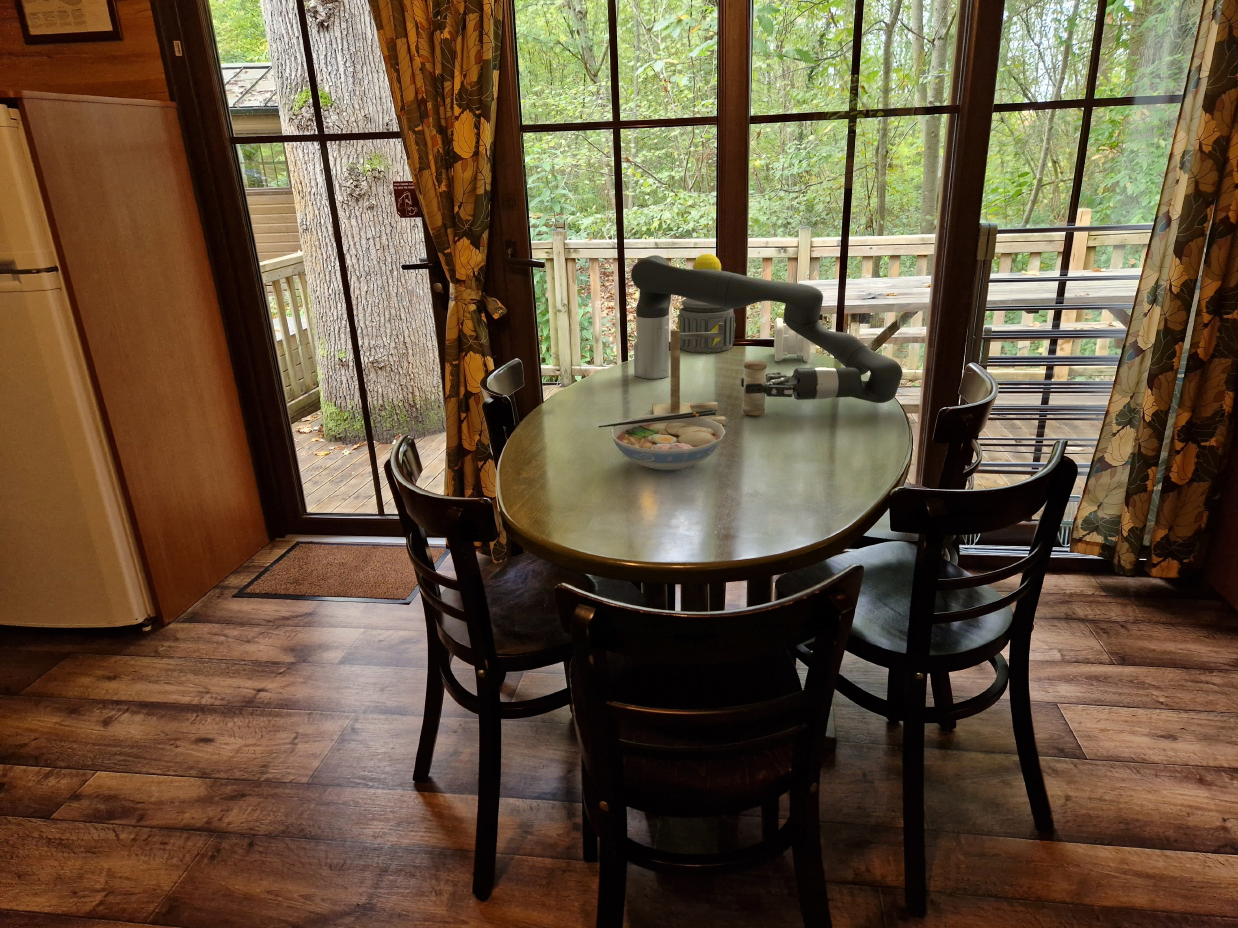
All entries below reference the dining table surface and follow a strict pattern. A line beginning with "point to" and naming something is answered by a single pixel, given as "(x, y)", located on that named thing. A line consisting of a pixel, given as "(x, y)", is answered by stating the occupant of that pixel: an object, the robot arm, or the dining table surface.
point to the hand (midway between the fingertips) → (743, 385)
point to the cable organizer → (789, 342)
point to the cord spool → (754, 375)
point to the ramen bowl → (668, 439)
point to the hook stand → (675, 378)
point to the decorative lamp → (705, 317)
